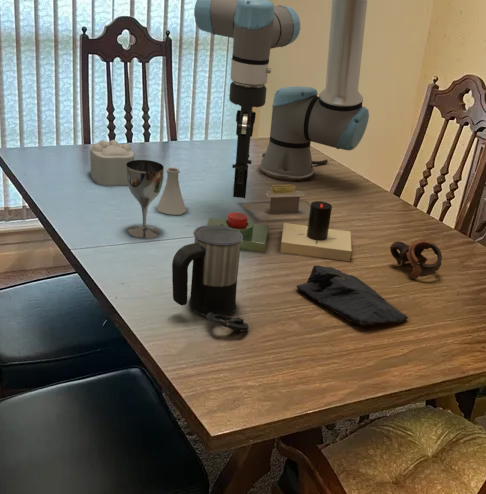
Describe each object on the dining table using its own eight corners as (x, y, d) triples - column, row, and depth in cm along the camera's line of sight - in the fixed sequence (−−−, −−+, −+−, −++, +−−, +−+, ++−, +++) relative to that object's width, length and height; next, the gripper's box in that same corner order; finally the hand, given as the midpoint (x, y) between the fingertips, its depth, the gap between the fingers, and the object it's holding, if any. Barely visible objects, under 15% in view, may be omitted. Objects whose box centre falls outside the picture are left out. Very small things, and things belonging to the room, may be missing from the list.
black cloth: (353, 336, 145) (357, 314, 143) (290, 287, 160) (293, 266, 157) (413, 322, 153) (418, 301, 150) (349, 277, 167) (352, 256, 165)
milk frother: (208, 291, 154) (212, 220, 145) (274, 317, 148) (283, 244, 140) (163, 315, 143) (165, 240, 135) (233, 344, 137) (239, 268, 129)
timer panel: (348, 241, 184) (350, 230, 183) (349, 261, 174) (351, 250, 173) (282, 232, 184) (284, 222, 182) (280, 252, 174) (281, 241, 172)
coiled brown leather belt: (435, 267, 179) (450, 246, 171) (424, 297, 174) (439, 277, 167) (389, 245, 178) (401, 223, 171) (376, 275, 174) (389, 253, 166)
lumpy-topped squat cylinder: (97, 186, 194) (96, 151, 189) (86, 169, 204) (84, 135, 199) (137, 184, 199) (138, 151, 194) (124, 168, 208) (124, 135, 203)
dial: (307, 231, 180) (311, 198, 175) (327, 233, 180) (332, 201, 175) (306, 238, 176) (310, 205, 171) (327, 241, 176) (332, 208, 171)
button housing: (267, 234, 182) (269, 218, 179) (264, 252, 173) (266, 235, 170) (208, 226, 181) (209, 210, 179) (202, 244, 172) (203, 227, 170)
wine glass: (168, 231, 176) (170, 166, 168) (149, 241, 170) (150, 174, 161) (139, 222, 178) (140, 157, 170) (119, 232, 172) (118, 165, 164)
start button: (247, 222, 177) (248, 213, 176) (245, 229, 173) (246, 220, 172) (228, 219, 177) (229, 211, 175) (226, 226, 173) (227, 218, 172)
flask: (189, 207, 190) (191, 167, 184) (183, 217, 184) (184, 176, 178) (160, 203, 190) (161, 162, 184) (153, 213, 184) (154, 171, 178)
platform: (241, 203, 196) (243, 178, 193) (304, 201, 203) (307, 177, 200) (258, 221, 188) (260, 195, 184) (323, 218, 195) (327, 193, 191)
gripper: (265, 93, 152) (254, 208, 165) (267, 78, 164) (257, 186, 177) (227, 88, 151) (219, 204, 165) (232, 73, 163) (225, 182, 177)
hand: (239, 195), depth 171 cm, fingers closed
